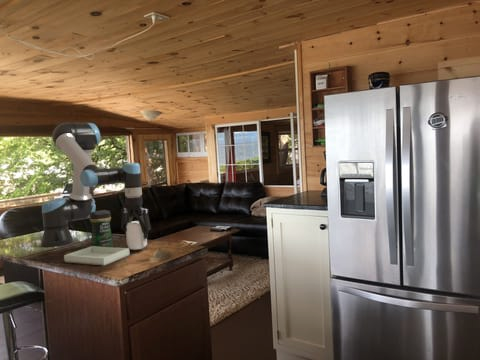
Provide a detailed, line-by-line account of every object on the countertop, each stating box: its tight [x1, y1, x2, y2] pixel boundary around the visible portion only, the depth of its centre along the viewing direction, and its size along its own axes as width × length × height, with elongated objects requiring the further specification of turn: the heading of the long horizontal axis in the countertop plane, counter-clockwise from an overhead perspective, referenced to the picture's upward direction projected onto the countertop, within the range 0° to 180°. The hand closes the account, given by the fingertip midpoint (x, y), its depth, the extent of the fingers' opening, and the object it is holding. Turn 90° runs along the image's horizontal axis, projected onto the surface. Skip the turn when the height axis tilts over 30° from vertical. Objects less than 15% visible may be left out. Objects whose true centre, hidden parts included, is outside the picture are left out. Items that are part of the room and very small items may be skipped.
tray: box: [63, 245, 131, 266], centre depth 171 cm, size 22×16×3 cm
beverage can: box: [126, 220, 146, 251], centre depth 180 cm, size 8×8×12 cm
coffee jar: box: [89, 209, 114, 247], centre depth 190 cm, size 10×8×19 cm
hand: (137, 245), depth 181 cm, fingers closed on beverage can, 8 cm apart
